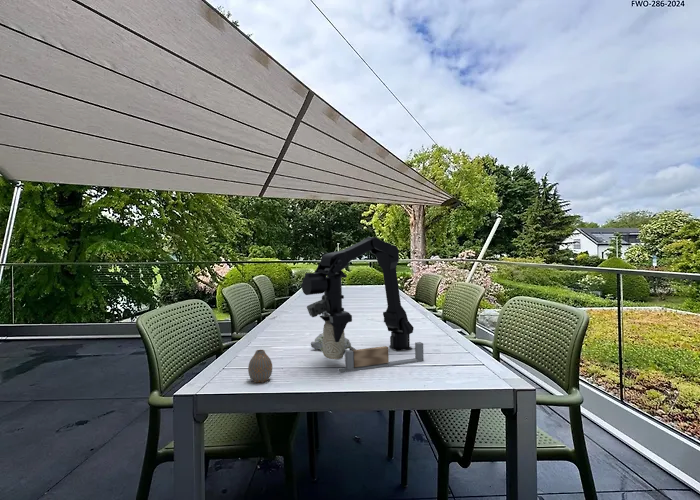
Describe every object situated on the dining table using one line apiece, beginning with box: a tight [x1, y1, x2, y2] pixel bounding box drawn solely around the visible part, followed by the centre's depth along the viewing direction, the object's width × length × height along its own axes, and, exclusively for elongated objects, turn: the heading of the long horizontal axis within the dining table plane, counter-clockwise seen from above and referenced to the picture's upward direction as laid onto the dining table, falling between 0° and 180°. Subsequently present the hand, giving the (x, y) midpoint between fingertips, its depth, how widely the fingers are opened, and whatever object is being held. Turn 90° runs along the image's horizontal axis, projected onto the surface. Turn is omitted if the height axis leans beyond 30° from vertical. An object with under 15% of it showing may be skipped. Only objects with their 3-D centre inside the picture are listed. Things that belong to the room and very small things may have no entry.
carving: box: [322, 321, 346, 360], centre depth 122 cm, size 6×8×12 cm
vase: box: [247, 349, 273, 384], centre depth 109 cm, size 7×7×9 cm
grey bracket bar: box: [338, 341, 425, 374], centre depth 121 cm, size 30×2×6 cm, turn 111°
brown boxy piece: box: [348, 345, 390, 367], centre depth 122 cm, size 12×7×5 cm, turn 111°
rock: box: [310, 332, 353, 352], centre depth 140 cm, size 16×7×7 cm, turn 65°
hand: (333, 339), depth 122 cm, fingers closed on carving, 6 cm apart
